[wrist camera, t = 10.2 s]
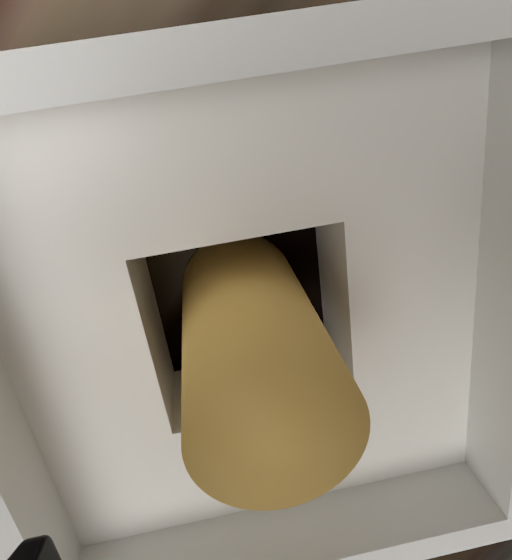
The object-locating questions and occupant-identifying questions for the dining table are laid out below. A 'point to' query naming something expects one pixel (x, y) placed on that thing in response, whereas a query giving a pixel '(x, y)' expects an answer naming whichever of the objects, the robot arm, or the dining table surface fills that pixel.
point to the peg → (262, 383)
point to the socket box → (249, 224)
